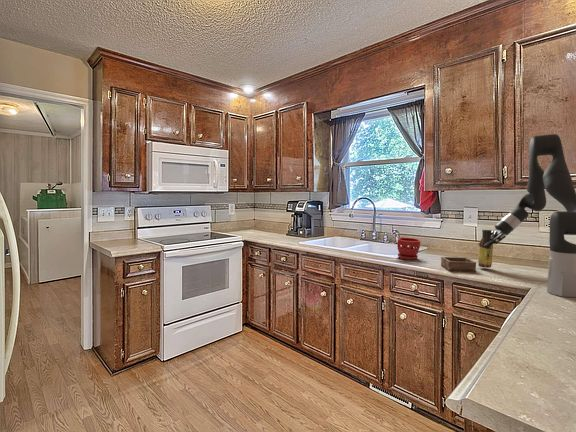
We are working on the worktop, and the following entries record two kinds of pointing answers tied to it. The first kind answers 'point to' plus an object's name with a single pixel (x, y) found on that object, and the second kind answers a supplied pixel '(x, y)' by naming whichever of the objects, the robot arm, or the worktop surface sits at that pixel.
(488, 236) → the sauce bottle
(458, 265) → the brown wooden tray
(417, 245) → the plant pot
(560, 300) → the worktop surface
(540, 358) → the worktop surface
